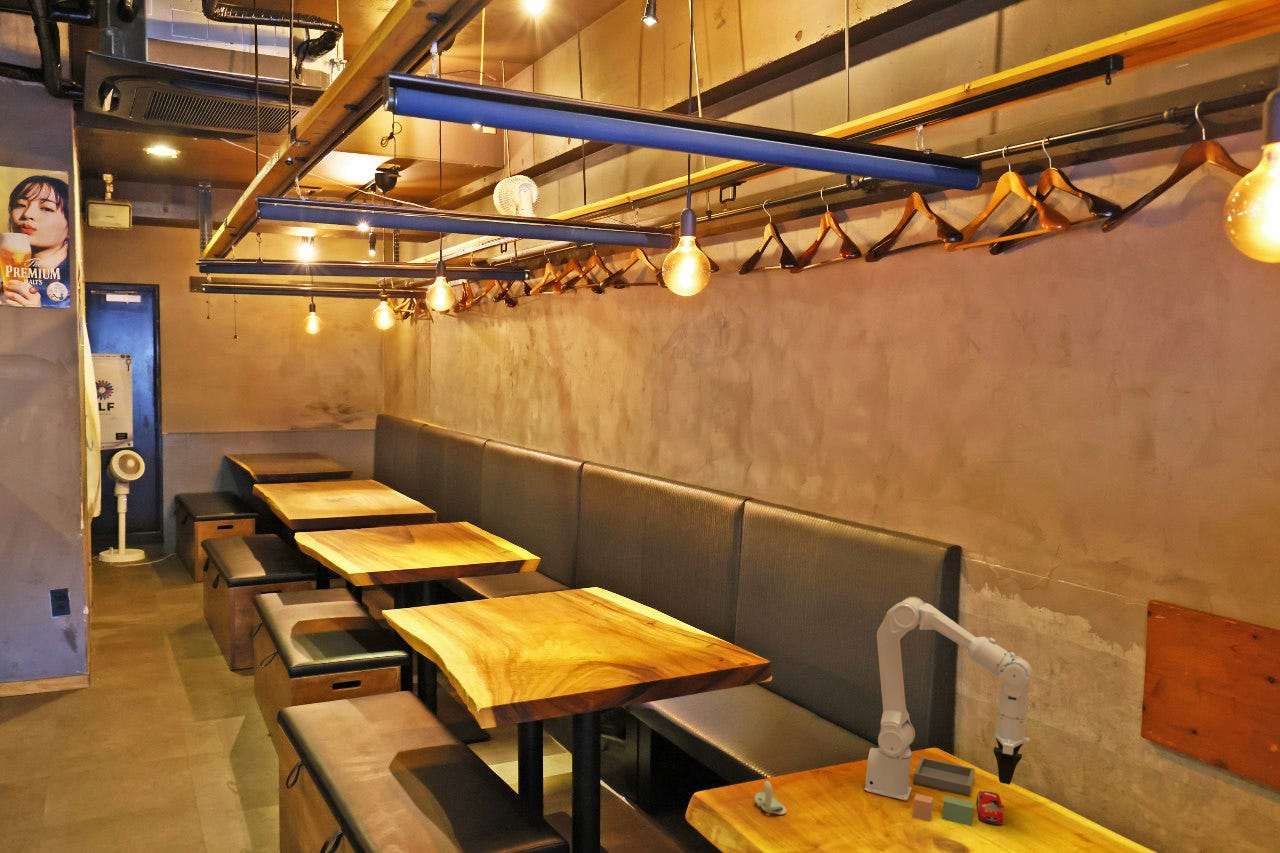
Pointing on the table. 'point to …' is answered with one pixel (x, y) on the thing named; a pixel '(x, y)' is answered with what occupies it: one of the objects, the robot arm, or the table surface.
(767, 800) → the pacifier
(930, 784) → the gray tray
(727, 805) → the table surface
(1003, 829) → the table surface
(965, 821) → the green long brick
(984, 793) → the race car
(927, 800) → the terracotta square brick
